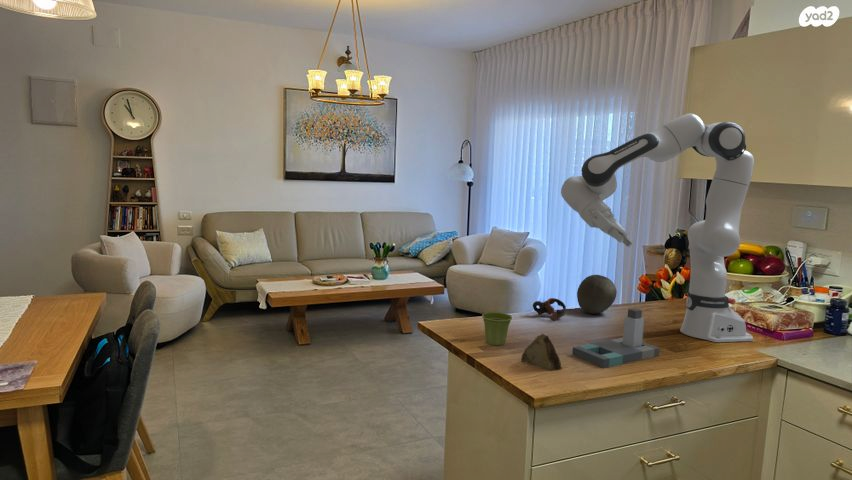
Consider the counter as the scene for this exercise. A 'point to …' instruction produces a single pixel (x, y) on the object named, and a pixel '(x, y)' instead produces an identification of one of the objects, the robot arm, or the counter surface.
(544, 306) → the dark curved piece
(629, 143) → the robot arm
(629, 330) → the plug
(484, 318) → the plant pot
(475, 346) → the counter surface
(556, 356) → the rock
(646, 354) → the panel
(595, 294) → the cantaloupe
